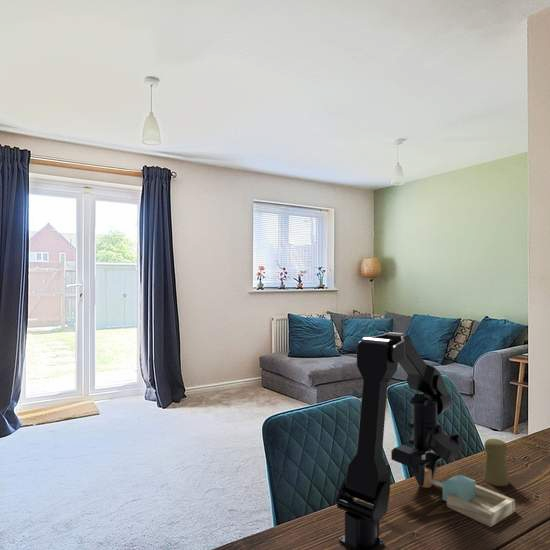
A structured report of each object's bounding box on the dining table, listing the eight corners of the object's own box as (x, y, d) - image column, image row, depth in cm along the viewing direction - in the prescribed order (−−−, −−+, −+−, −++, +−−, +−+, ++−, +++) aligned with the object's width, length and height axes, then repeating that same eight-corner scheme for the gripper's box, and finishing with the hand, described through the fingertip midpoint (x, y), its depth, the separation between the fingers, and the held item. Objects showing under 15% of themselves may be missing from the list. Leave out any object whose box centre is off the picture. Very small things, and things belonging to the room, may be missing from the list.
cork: (483, 476, 117) (483, 434, 117) (510, 482, 114) (510, 438, 114) (481, 486, 112) (481, 442, 111) (508, 492, 108) (508, 446, 108)
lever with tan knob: (458, 510, 100) (458, 488, 100) (411, 489, 110) (411, 469, 110) (475, 501, 104) (475, 480, 104) (428, 481, 114) (428, 462, 114)
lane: (490, 531, 92) (490, 514, 92) (446, 510, 100) (446, 495, 100) (514, 515, 98) (514, 499, 98) (471, 497, 106) (471, 482, 106)
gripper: (430, 437, 98) (430, 509, 99) (477, 421, 109) (477, 485, 109) (389, 424, 107) (389, 489, 108) (436, 409, 118) (436, 469, 118)
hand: (425, 483), depth 111 cm, fingers closed on lever with tan knob, 3 cm apart
